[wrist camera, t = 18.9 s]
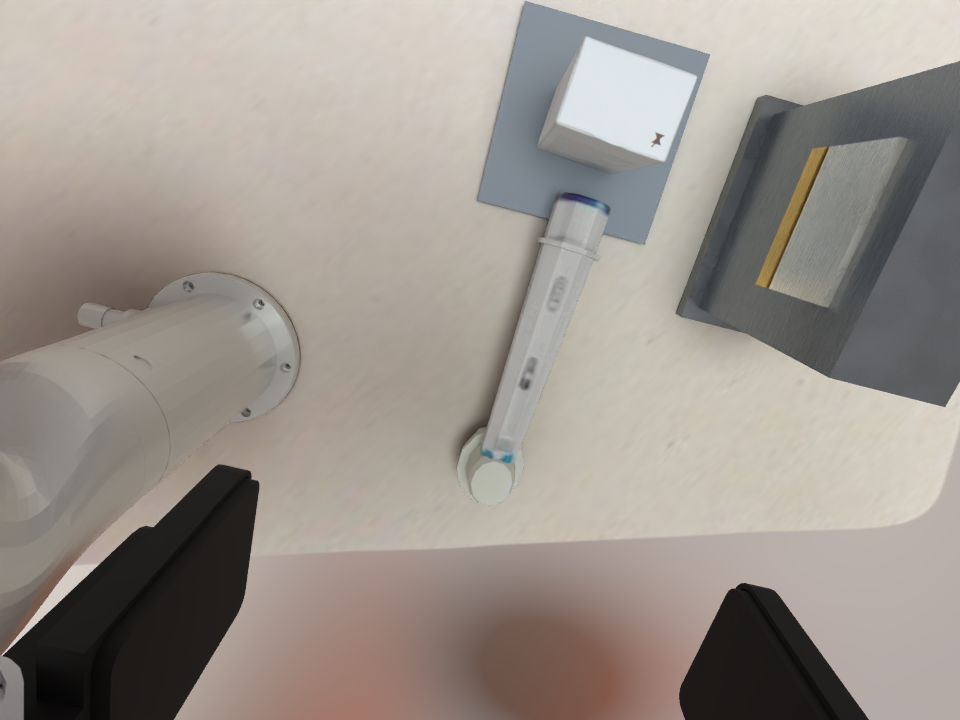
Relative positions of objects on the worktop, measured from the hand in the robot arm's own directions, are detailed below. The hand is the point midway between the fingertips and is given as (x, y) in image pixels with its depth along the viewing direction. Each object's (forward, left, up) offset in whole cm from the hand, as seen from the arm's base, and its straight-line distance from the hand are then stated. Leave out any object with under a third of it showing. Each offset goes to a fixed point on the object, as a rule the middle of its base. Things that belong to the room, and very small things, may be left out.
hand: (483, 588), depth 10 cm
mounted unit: (+19, +10, -32) cm, 39 cm away
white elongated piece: (+4, -4, -32) cm, 33 cm away
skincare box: (+4, +13, -32) cm, 34 cm away
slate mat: (+4, +13, -32) cm, 35 cm away
